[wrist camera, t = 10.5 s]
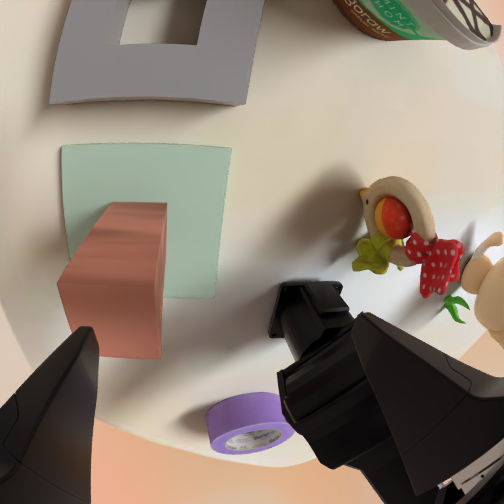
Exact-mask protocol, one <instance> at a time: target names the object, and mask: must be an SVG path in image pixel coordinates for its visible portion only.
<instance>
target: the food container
mask: <svg viewBox="0 0 504 504" xmlns="http://www.w3.org/2000/svg"><path fill="white" fill-rule="evenodd" d="M332 1H333V2H334V4H335V5H336V6H337V8H338V9H339V11H340V12H341V13H342V15H343V16H344V17H345V18H346V19H347V20H348V21H349V22H350V23H352V24H353V25H354V26H355V27H356V28H358V29H359V30H360V31H362V32H364V33H365V34H367V35H369V36H371V37H373V38H376V39H379V40H384V41H398V40H447V41H448V42H450V43H452V44H453V45H455V46H457V47H459V48H462V49H466V50H473V49H478V48H482V47H487V46H489V45H491V44H492V43H495V42H496V41H498V39H499V38H500V35H501V29H502V26H501V25H493V24H491V23H490V21H489V20H488V18H487V17H486V16H485V15H484V13H483V12H482V11H481V10H480V8H479V7H478V6H477V4H476V3H475V2H474V0H332Z"/></svg>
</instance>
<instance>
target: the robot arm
mask: <svg viewBox="0 0 504 504" xmlns="http://www.w3.org/2000/svg"><path fill="white" fill-rule="evenodd" d="M285 288H287V289H286V290H284V289H285ZM342 288H343V285H342V284H341V283H340V282H328V281H322V282H304V283H283V284H282V285H281V286H280V288H279V292H278V296H277V300H276V304H275V308H274V312H273V316H272V320H271V324H270V328H269V331H268V335H269V337H270V338H285V340H286V342H287V344H288V346H289V348H290V351H291V353H292V355H293V357H294V359H295V362H294V363H293V364H291V365H290V366H288V367H287V368H285V369H284V370H283V369H282V370H280V371H279V372H277V379H278V388H279V395H280V402H281V410H282V414H283V416H284V417H285V420H286V422H287V423H288V424H290V425H291V427H292V428H293V429H294V430H295V431H296V432H297V433H299V434H300V435H303V437H304V438H305V439H306V441H307V442H308V443H309V445H310V446H311V448H312V450H313V451H314V453H315V455H316V457H317V458H318V460H319V461H320V463H321V464H323V465H325V466H326V467H328V468H330V469H336V468H338V467H340V466H342V465H345V466H348V467H351V468H354V469H357V470H360V471H361V472H362V473H363V475H364V476H365V477H366V479H367V480H368V482H369V483H370V485H371V486H372V487H373V489H374V490H375V491H376V493H377V494H378V495H379V497H380V498H381V500H382V501H383V502H384V504H504V377H502V378H499V377H494V376H491V375H489V374H486V373H484V372H482V371H480V370H477V369H475V368H473V367H471V366H469V365H466V364H464V363H462V362H460V361H458V360H456V359H454V358H453V357H451V356H449V355H447V354H445V353H443V352H441V351H440V350H438V349H436V348H434V347H432V346H430V345H429V344H427V343H425V342H423V341H421V340H419V339H418V338H416V337H414V336H412V335H410V334H408V333H406V332H405V331H403V330H401V329H399V328H397V327H395V326H394V325H392V324H390V323H388V322H386V321H384V320H383V319H381V318H379V317H377V316H375V315H373V314H371V313H369V312H366V313H363V312H361V313H360V314H358V315H357V317H356V318H355V319H354V318H353V317H352V315H351V314H350V313H349V307H348V305H347V304H346V303H345V301H344V300H343V299H342V298H341V296H340V294H341V291H342ZM273 333H274V334H273ZM99 352H100V350H99V344H98V341H97V338H96V335H95V332H94V329H93V328H92V327H91V326H80V327H78V328H77V329H76V330H75V331H74V332H73V333H72V334H71V335H70V336H69V337H68V338H67V339H66V340H65V341H64V342H63V343H62V344H61V345H60V346H59V347H58V348H57V349H56V350H55V351H54V352H53V353H52V354H51V355H50V356H49V357H48V358H47V359H46V360H45V361H44V362H43V363H42V364H41V365H40V366H39V367H38V368H37V369H36V370H35V371H34V372H33V373H32V375H30V377H29V378H28V379H27V380H26V381H25V382H24V383H23V384H22V385H21V386H20V387H19V388H18V390H17V391H16V392H15V393H16V394H15V393H14V394H13V395H12V396H11V397H10V398H9V400H8V401H7V402H6V403H5V404H4V405H3V406H2V407H1V408H0V504H91V452H92V436H93V425H94V416H95V407H96V400H97V388H98V367H99ZM450 477H451V478H452V480H451V481H449V482H448V483H447V484H446V485H444V484H443V482H444V481H445V480H447V479H449V478H450Z"/></svg>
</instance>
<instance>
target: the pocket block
mask: <svg viewBox="0 0 504 504" xmlns="http://www.w3.org/2000/svg"><path fill="white" fill-rule="evenodd" d="M130 1H131V0H72V1H71V4H70V7H69V10H68V13H67V17H66V20H65V23H64V27H63V30H62V34H61V38H60V42H59V46H58V51H57V55H56V60H55V65H54V71H53V77H52V83H51V91H50V99H49V104H74V103H84V102H96V101H113V100H172V101H190V102H203V103H214V104H223V105H231V106H240V105H244V104H246V99H247V93H248V87H249V81H250V75H251V69H252V64H253V58H254V52H255V47H256V41H257V36H258V31H259V25H260V20H261V15H262V10H263V5H264V0H207V2H206V6H205V10H204V14H203V19H202V23H201V27H200V32H199V37H198V41H197V45H184V44H126V45H119V42H120V38H121V34H122V30H123V26H124V22H125V18H126V15H127V11H128V8H129V4H130Z"/></svg>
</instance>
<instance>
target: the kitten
mask: <svg viewBox="0 0 504 504" xmlns="http://www.w3.org/2000/svg"><path fill="white" fill-rule="evenodd" d="M503 242H504V235H503V234H502V233H501V232H495V233H493V234H491V235H490V236H489V237H488V238H487V239H486V240H485V241H483V242H482V243H481V244H480V245H479V246H478V247H477V249H476V250H475V252H474V253H473V255H472V257H471V259H470V261H469V262H468V264H467V265H466V267H465V269H464V271H463V274H462V278H461V286H462V288H463V289H464V290H465V291H466V292H468V293H471V294H477V297H476V300H475V305H474V312H475V316H476V318H477V320H478V321H479V322H480V323H481V324H482V325H483V326H484V327H485V328H487V329H488V331H489V333H490V335H491V336H492V338H494V339H495V340H496V341H497V342H498V343H499V344H500V345H501V346H502V347H503V348H504V257H503V258H501V259H500V260H499V261H498V262H497V263H496V264H495V265H494V266H493V265H492V263H491V261H490V259H489V258H488V257H487V256H486V255H485V254H484V253H485V251H486V250H487V249H488V248H489V247H491V246H500V245H502V244H503ZM445 303H446V304H445V305H444V307H445V308H447V309H448V311H449V312H450V314H451V315H452V317H453V319H454V320H455V321H456V322H459V323H465V322H463V321H461V319H460V318H459V316H458V311H457V308H456V306H455V303H457V304H460V305H462V306H464V307H466V308H467V309H469V306H468V304H467V303H466V302H465V300H464V299H462V298H461V297H459V296H456V297H452V296H451V295H450V296H449V297H448V298H446V299H445ZM469 310H470V309H469ZM465 324H466V323H465Z"/></svg>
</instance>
